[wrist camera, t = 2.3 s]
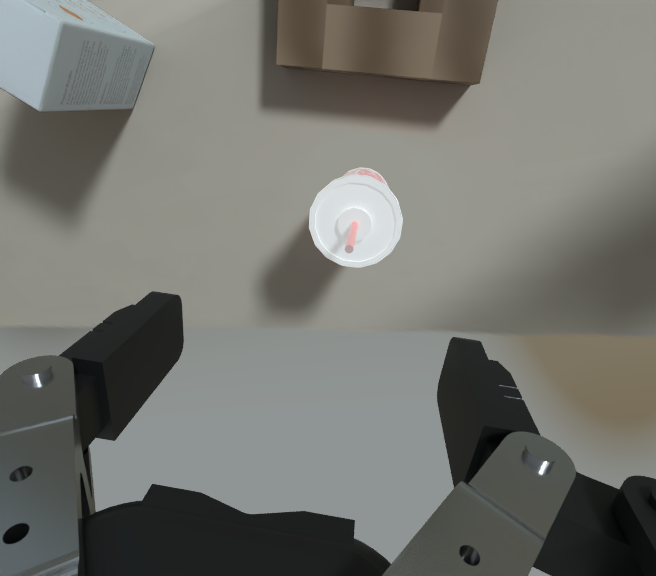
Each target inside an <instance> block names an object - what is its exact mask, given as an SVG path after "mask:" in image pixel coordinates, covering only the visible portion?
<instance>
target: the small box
mask: <svg viewBox="0 0 656 576" xmlns="http://www.w3.org/2000/svg"><path fill="white" fill-rule="evenodd" d="M153 49H154V44H153V43H152V42H150V41H148V40H147V39H145V38H144V37H142V36H141V35H139V34H137V33H136V32H134V31H133V30H131V29H130V28H128V27H127V26H125V25H124V24H122V23H121V22H119V21H118V20H116V19H114V18H113V17H111V16H110V15H108V14H107V13H105V12H104V11H102V10H101V9H99V8H98V7H96V6H95V5H93V4H91V3H90V2H88V1H87V0H0V88H1V89H3V90H4V91H6V92H8V93H9V94H11V95H12V96H14V97H16V98H17V99H19V100H21V101H22V102H24V103H26V104H27V105H29V106H31V107H32V108H34V109H35V110H37V111H38V112H55V111H82V110H111V109H132V108H133V107H134V104H135V101H136V98H137V95H138V92H139V90H140V87H141V84H142V81H143V78H144V75H145V72H146V70H147V67H148V64H149V61H150V58H151V55H152V52H153Z"/></svg>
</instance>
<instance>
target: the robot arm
mask: <svg viewBox="0 0 656 576" xmlns="http://www.w3.org/2000/svg"><path fill="white" fill-rule="evenodd" d="M183 341H184V339H183V318H182V302H181V298H180V296H179V295H174V294H168V293H161V292H154V291H153V292H151V293H149V294H148V295H147V296H146V297H144V298H143V299H142V300H141V301H139V302H138V303H137V304H136V305H130V306H128V307H125V308H123V309H120V310H118V311H116V312H114V313H113V314H111V315H110V316H109V317H108V318H106V319H105V320H104V321H103V323H100V324H99V325H97V326H96V327H95V328H94V329H93V331H90V332H88V333H87V334H86V335H85V336H84V337H82V338H81V339H80V340H78V341H77V342H76V343H74V344H73V345H72V346H71V347H69V348H68V349H67V350H66V351H64V352H63V353H62V354H60V355H59V356H52V355H49V356H39V357H34V358H30V359H27V360H24V361H21V362H19V363H17V364H15V365H13V366H11V367H9V368H8V369H7V370H6V371H4V372H3V373H2V374H1V375H0V576H528V574H529V572H530V570H531V568H532V567H535V568H537V569H539V570H541V571H543V572H545V573H547V574H549V575H551V576H656V479H653V478H649V477H645V476H631V477H629V478H627V479H626V480H625V481H624V482H623V484H622V486H621V487H620V489H617V488H614V487H612V486H609V485H607V484H604V483H602V482H599V481H597V480H594V479H592V478H589V477H587V476H584V475H582V474H580V473H578V472H576V470H575V466H574V464H573V462H572V460H571V458H570V457H569V456H568V455H567V454H566V452H565V451H563V450H562V449H561V448H560V447H559V446H557V445H556V444H555V443H553V442H552V441H550V440H548V439H546V438H544V437H542V436H540V433H539V431H538V429H537V427H536V425H535V423H534V421H533V419H532V417H531V415H530V413H529V411H528V409H527V407H526V405H525V402H524V401H523V400H522V396H521V394H520V392H519V390H518V389H516V388H517V386H516V384H515V382H514V380H513V378H512V376H511V374H510V373H509V372H508V371H507V370H506V369H505V368H504V367H503V366H502V365H501V364H500V363H499V362H498V361H493V360H488V357H487V355H486V353H485V350H484V348H483V346H482V343H481V342H480V341H476V340H470V339H463V338H457V337H453V338H452V339H451V340H450V343H449V346H448V350H447V354H446V357H445V361H444V365H443V368H442V372H441V375H440V380H439V383H438V391H437V401H438V407H439V412H440V418H441V423H442V428H443V433H444V438H445V443H446V449H447V453H448V458H449V464H450V469H451V474H452V480H453V485H454V489H453V490H452V492H451V493H450V494H449V495H448V496H447V498H446V499H445V500H444V501H443V502H442V504H441V505H440V506H439V507H438V509H437V510H436V511H435V512H434V513H433V514H432V516H431V517H430V518H429V519H428V521H427V522H426V523H425V524H424V525H423V527H422V528H421V529H420V530H419V532H418V533H417V534H416V535H415V536H414V537H413V539H412V540H411V541H410V542H409V544H408V545H407V546H406V547H405V548H404V550H403V551H402V552H401V553H400V554H399V556H398V557H397V558H396V559H395V560H394V562H393V563H392V564H390V562H388V560H386V559H385V558H384V557H383V556H382V555H380V554H379V553H378V552H376V551H375V550H374V549H373V548H371V547H369V546H368V545H366V544H364V543H363V542H361V541H359V540H357V539H354V524H355V520H350V519H345V518H339V517H334V516H328V515H323V514H317V513H311V512H306V511H300V512H284V513H283V512H282V513H267V514H246V513H243V512H241V511H239V510H237V509H235V508H232V507H230V506H228V505H226V504H224V503H222V502H220V501H218V500H216V499H213V498H211V497H209V496H207V495H205V494H203V493H200V492H195V491H189V490H184V489H178V488H172V487H167V486H161V485H156V484H152V485H151V487H150V489H149V490H148V492H147V494H146V495H145V497H144V499H143V500H142V501H135V502H129V503H124V504H120V505H117V506H113V507H109V508H107V509H104V510H102V511H99V512H96V511H95V501H94V489H93V478H92V467H91V455H90V449H89V445H90V444H91V442H92V441H93V440H94V439H95V438H101V439H107V440H113V441H115V440H116V438H117V437H118V436H119V435H120V433H121V432H122V431H123V430H124V428H125V427H126V426H127V425H128V423H129V422H130V421H131V419H132V418H133V417H134V416H135V414H136V413H137V412H138V411H139V409H140V408H141V407H142V405H143V404H144V403H145V401H146V400H147V399H148V398H149V396H150V395H151V394H152V393H153V391H154V390H155V389H156V388H157V386H158V385H159V384H160V383H161V381H162V380H163V379H164V377H165V376H166V375H167V373H168V372H169V371H170V370H171V369H172V367H173V366H174V364H175V363H176V362H177V361H178V359H179V357H180V355H181V352H182V349H183Z"/></svg>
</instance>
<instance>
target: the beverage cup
mask: <svg viewBox="0 0 656 576" xmlns="http://www.w3.org/2000/svg"><path fill="white" fill-rule="evenodd" d="M402 222H403V218H402V214H401V210H400V206H399V202H398V200H397V198H396V197H395V196H394V194H393V193H392V192H391V191H390V189H389V188H388V185H387V183H386V181H385V180H384V179H383V177H382V176H381V175H380V174H379V173H377V172H376V171H374V170H372V169H370V168H356V169H353V170H350V171H348V172H347V173H346V174H345V175H343V176H342V177H341V178H338V179H335V180H333V181H332V182H331V183H329V184H328V185H327V186H326V187H325V188H324V189H322V190H321V191H320V192H319V193H318V195H317V197H316V199H315V201H314V203H313V205H312V207H311V209H310V217H309V230H310V232H311V235H312V238H313V241H314V244H315V245H316V246H317V248H318V249H319V250H320V251H321V252H322V253H323V254H324V256H325V257H326V258H328V259H330V260H332V261H334V262H336V263H338V264H340V265H341V266H349V267H357V268H360V267H364V266H368V265H372V264H376V263H377V262H379V261H380V260H382V259H383V258H384V257H386V256H387V255H388V254H390V253H391V252H392V250H393V248H394V247H395V245H396V244H397V242H398V240H399V239H400V235H401V229H402Z"/></svg>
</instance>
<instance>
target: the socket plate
mask: <svg viewBox="0 0 656 576" xmlns="http://www.w3.org/2000/svg"><path fill="white" fill-rule="evenodd" d="M497 3H498V0H419V2H418V8H417V11H407V10H394V9H382V8H370V7H358V6H354V0H278V25H277V57H276V64H277V65H280V66H282V67H285V68H295V69H305V70H316V71H326V72H337V73H348V74H358V75H369V76H379V77H390V78H400V79H411V80H421V81H432V82H443V83H453V84H464V85H474V84H480V79H481V75H482V70H483V66H484V61H485V57H486V52H487V48H488V43H489V39H490V34H491V30H492V25H493V21H494V16H495V12H496V7H497Z"/></svg>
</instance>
